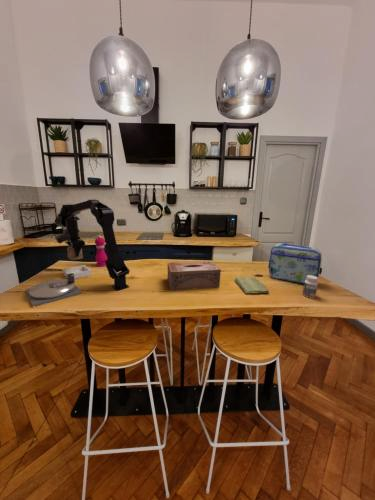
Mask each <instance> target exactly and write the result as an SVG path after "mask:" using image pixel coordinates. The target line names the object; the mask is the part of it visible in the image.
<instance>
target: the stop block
mask: <svg viewBox="0 0 375 500" xmlns="http://www.w3.org/2000/svg"><path fill="white" fill-rule="evenodd" d="M66 250H67V258H68V259H69V260H71V261H75V260H81V259H84V256H83V255H84V254H83V248H82V249H81V251H80V253H79V256H78V257H76V255H75V252H74V249H73V248H72V247H69V246H68V247H66Z"/></svg>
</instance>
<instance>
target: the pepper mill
mask: <svg viewBox="0 0 375 500" xmlns="http://www.w3.org/2000/svg"><path fill="white" fill-rule="evenodd" d="M94 244H95V247H96V255H95V258H94V259H95V260H94V261H95V262H96V267H98V268H102V267H103V268H104V267H106V263H105V260H107V259H108V255H107V254H106V252H105V247H106V243H105V239H104V238H103V237H102V236H101V235H97V238H95V240H94Z"/></svg>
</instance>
